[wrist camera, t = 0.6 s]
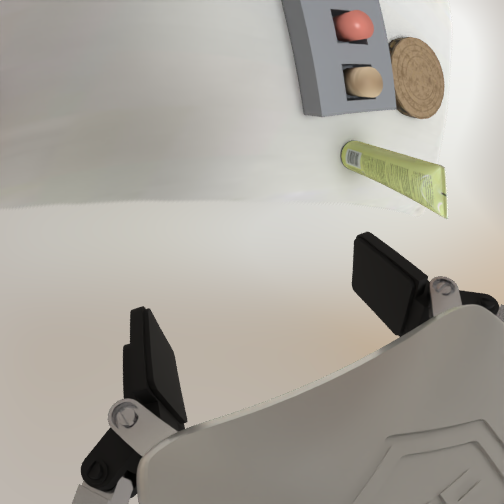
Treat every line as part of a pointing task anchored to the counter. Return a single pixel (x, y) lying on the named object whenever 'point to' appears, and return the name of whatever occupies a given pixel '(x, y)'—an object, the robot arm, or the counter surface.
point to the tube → (400, 174)
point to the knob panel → (336, 56)
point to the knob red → (353, 26)
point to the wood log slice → (416, 77)
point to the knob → (362, 81)
